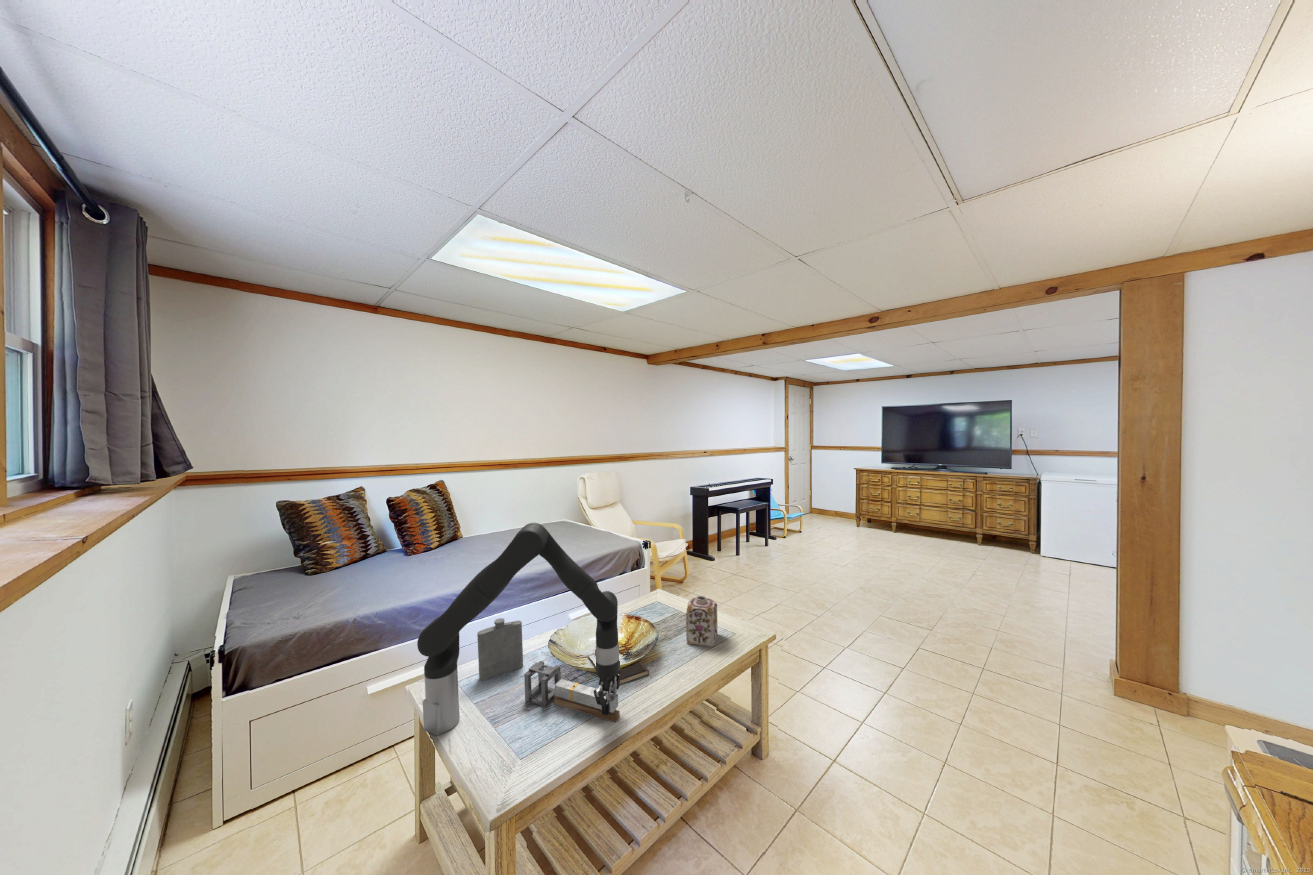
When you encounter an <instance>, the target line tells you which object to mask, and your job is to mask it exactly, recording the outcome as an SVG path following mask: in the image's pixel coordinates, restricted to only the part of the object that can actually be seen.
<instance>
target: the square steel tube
mask: <svg viewBox="0 0 1313 875" xmlns="http://www.w3.org/2000/svg"><path fill="white" fill-rule="evenodd" d="M554 689H555V696H558V697H561V698H564V699H568V700H570V701H574V702H578V703H581V704H584V705H588V706H591V707H594V708H598V709H601V710H602V706H601V705H598V704H597V702H596V699H595V696H594V690H595V689H596V690H597V689H598V688H595V687H591V686H588V685H586V684H585V685H584V684H582V683H579V682H574V681H570V680H566V679H563V678H561V680H560V681H559V682H557V683H556V684H555V683H554ZM604 692H605V691H604ZM607 693H608V692H607ZM604 698H605V699H606V697H605V696H604ZM618 707H619V694H617V693H616V694H614V693H611V695H610V696H609V712H611V713H613V712H614V711H615V710H617V708H618Z"/></svg>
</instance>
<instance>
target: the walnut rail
mask: <svg viewBox="0 0 1313 875" xmlns="http://www.w3.org/2000/svg"><path fill="white" fill-rule="evenodd" d="M553 703H554V705H557V706H559V707H561V706H562V707H564V708H566V709H567V708H568V709H570V710H575V711H577V712H581V713H583V714H587V715H591V716H593V717H597V718H600V719H603V720H606V721H610V722H613V723H617V721H619V719H620V716H621V715H620V710H619V709H615V711H614V712H613V713H611V712H609V714H608V715H603V714H602V710H601V709H598V708H594V707H591V706H588V705H584V704H581V703H578V702H574V701H570V700H568V699H564V698H561V697H558V696H555V697H554V701H553Z"/></svg>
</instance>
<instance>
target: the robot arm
mask: <svg viewBox="0 0 1313 875" xmlns="http://www.w3.org/2000/svg"><path fill="white" fill-rule="evenodd" d="M538 556H540V557H541V558H543V560H545V561H546V562H547V563H548V564H549V566H551V567H552V569H553V571H555V573H556V575H557V577H558V578H559V579H560V581H561V582H562V584H563V585H564V586H565V587H566V588H567V589H568V590H569V591H570V592H572V593H573V594H574V595H575V597H577V598H578V599H579V600H580V601H582V604H583V605H584V606H585V607H586V608H587V610H588V612H590V613H591V615H592V616H593V617H594V618H595V619H596V628H595V649H594V650H595V656H596V667H595V673H596V675H597V676H598V678H599V679H598V688H596V689H597V690H596V689H595V690H594V696H595V699H596V702H597V704H598V705H601V706H602V714H603V715H608V714H609V696H610V695H611V693H614V694H617V690H619V688H620V685H621V684H620V677H621V669H620V661H619V645H618V643H619V630H618V612H619V611H618V608H619V607H618V605H619V604H618V603H619V602H618V598H617V596H616V595H615V594H614V592H611V591H609V590H605V591H602V590H601V589H600V588H599V585H598V582H596V580H595V579H594V578H593V577H592V576H590V574H589V573H587V572H586V571H585V570H584V569H583V568H582V567H581V566H579V564H577V563H576V561H574V559H572V558H571V557H570V556H569V554H567V552H566V551H565V550H564V549H563V548H562V547H561V546H560V544H559V543H558V542H557V541H556V539H555V538H554V537H553V536H552V535H551V533H550V532H549V531H548V530H547V528H546V527H545V526H544V525H542V524H540V523H539V522H530V523H527V524H525V525H524V526H523V527H521V529H520V530H519V531H518V532H517V533H516V534H515V536H514V537H513V539H511V541H510V542H509V544H508V545H507V547H506V548H505V549H504V550H503V551H502V553H501V554H500V555H499V556H498V557H497V558H496V559H495V560H493V561H492V562H491V563H489V564H488V565H486V566H485V567H484V568H482V570H480V571H479V572H478V573H477V574H476V575H475V576H474V577H473V578H472V579H471V581H470V582H468V583H467V585H465V587H464V588H463V589H462V590H461V591H460V592H459V593H458V595H457V596H456V597H455V598H454V600H453V601H452V603H451V604H450V605H449V606H448V607H447V608H446V610H445V611H444V612H443V613H442V614H441V615H440V616H437V617H436V618H434V619H433V620H432V621H431V622H430V623H429V624H428V625H427V626H426V627H425V628H423V629H422V630H421V632H420V633H419V636H418V638H417V643H416V644H417V645H416V646H417V650H418V652H419V653H420V655H422V656H423V657H426V658H427V660H426V661H425V663H424V668H423V673H424V674H423V675H424V691H425V692H424V695H425V696H424V697H425V699H423V700H422V714H423V715H422V719H423V721H422V722H423V730H424V732H426V733H430V734H431V735H434V736H436V737H437V736H439V735H441V734H443V733H446V732H448V731H450V730H452V729H453V728H455V727H456V726H457V724H459V722H460V699H459V697H460V696H459V680H458V679H459V676H458V673H459V672H458V661H459V660H458V659H459V656H460V632H461V630H462V629H463V628H464V627H465V626H467V625H468V624H469V623H470V622H471V621H472V620H474V619H475V618H477V617H478V616H479V615H480V614H482V612H483V611H485V610H486V608H488V607H489V606H490V605H492V603H494V602H493V601H495V600H496V599H497V598H498V597H499V596H500V595H501V593H502V592H503V591H504V590H505V589H506V587H508V585H509V583H510V582H511V581H512V579H513V578H514V577H515V576H516V574H517V573H518V572H520V571H521V570H522V569H523V568H524V567H525V566H526V565H528V564H529V563H530V562H531V561H533V560H534V559H535V558H536V557H538ZM616 681H617V682H616ZM604 691H605V692H604ZM607 692H608V693H607ZM604 696H605V697H606V699H605V698H604Z"/></svg>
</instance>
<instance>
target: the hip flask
mask: <svg viewBox="0 0 1313 875" xmlns="http://www.w3.org/2000/svg"><path fill="white" fill-rule="evenodd" d="M493 623H494V625H493V626H490V627H487V628H484V629H481V630H479V631H477V633H476V634H477V635H476V637H477V653H478V654H477V658H478V677H479V678H478V679H479V681H481V682H484V681H487V680H489V679H492V678H494V677H496V676H499V675H501V674H505V673H508V672H512V671H517V670H520V669H522V668H523V667H524V651H523V650H524V649H523V646H524V645H523V627H522V626H523V624H522V623H523V622H522V620H515V621H508V622H505V618H501V617H499V618H497V619H495V620H494V622H493Z"/></svg>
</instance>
